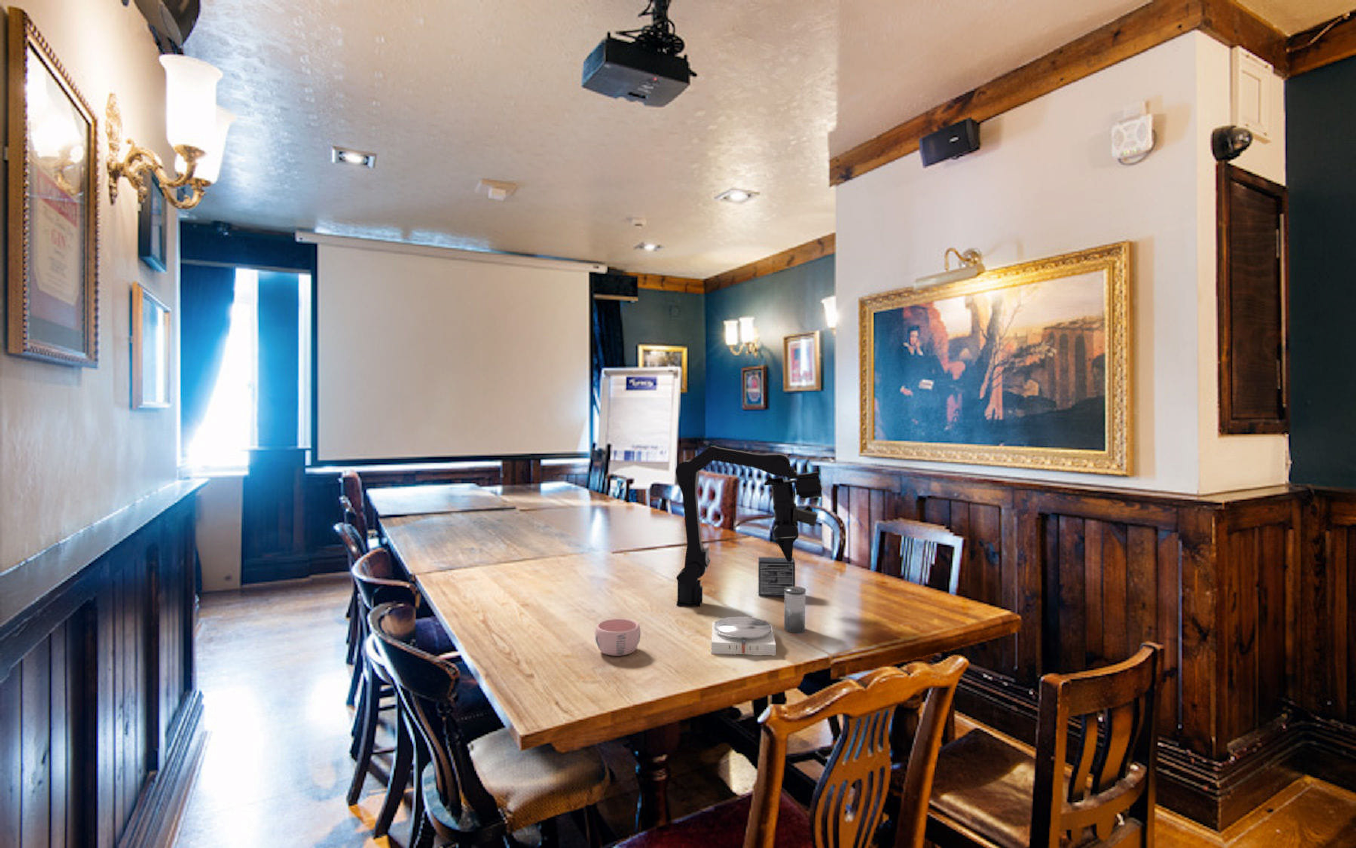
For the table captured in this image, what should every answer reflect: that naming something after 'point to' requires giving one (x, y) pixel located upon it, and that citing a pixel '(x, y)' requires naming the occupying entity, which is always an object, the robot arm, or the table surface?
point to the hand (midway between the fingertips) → (789, 557)
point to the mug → (617, 636)
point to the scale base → (734, 645)
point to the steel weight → (794, 609)
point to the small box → (775, 576)
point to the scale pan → (742, 628)
